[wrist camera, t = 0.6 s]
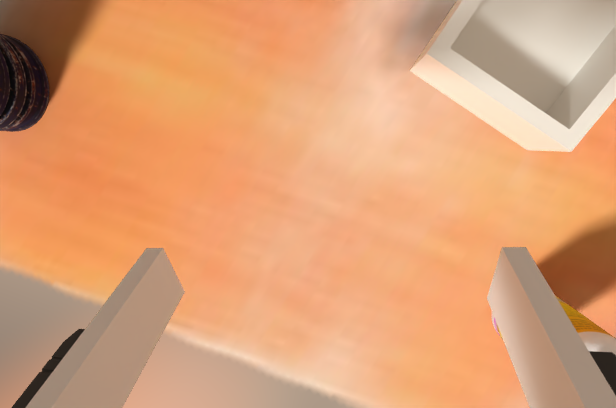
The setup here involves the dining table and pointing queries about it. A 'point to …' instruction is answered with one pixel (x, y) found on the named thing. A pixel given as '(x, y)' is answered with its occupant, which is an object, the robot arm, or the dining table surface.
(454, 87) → the bottle stand
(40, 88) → the dark ridged cylinder
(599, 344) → the supplement bottle
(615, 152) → the dining table surface
